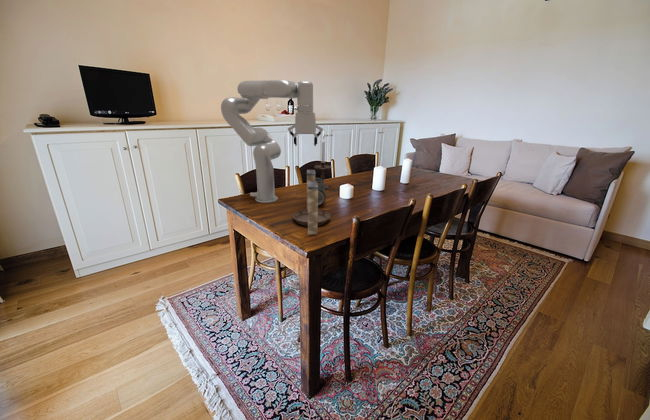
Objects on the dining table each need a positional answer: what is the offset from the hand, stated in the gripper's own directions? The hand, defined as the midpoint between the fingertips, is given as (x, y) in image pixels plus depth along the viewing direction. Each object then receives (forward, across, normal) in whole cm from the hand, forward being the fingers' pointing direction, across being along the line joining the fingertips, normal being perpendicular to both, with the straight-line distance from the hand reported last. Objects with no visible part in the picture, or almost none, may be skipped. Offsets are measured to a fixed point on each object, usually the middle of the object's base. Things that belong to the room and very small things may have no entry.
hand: (305, 145), depth 141 cm
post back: (+33, +2, -8) cm, 34 cm away
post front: (+33, +2, -31) cm, 45 cm away
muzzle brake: (+33, +7, +11) cm, 35 cm away
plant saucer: (+33, +2, -20) cm, 39 cm away
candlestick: (+33, +12, +36) cm, 50 cm away
